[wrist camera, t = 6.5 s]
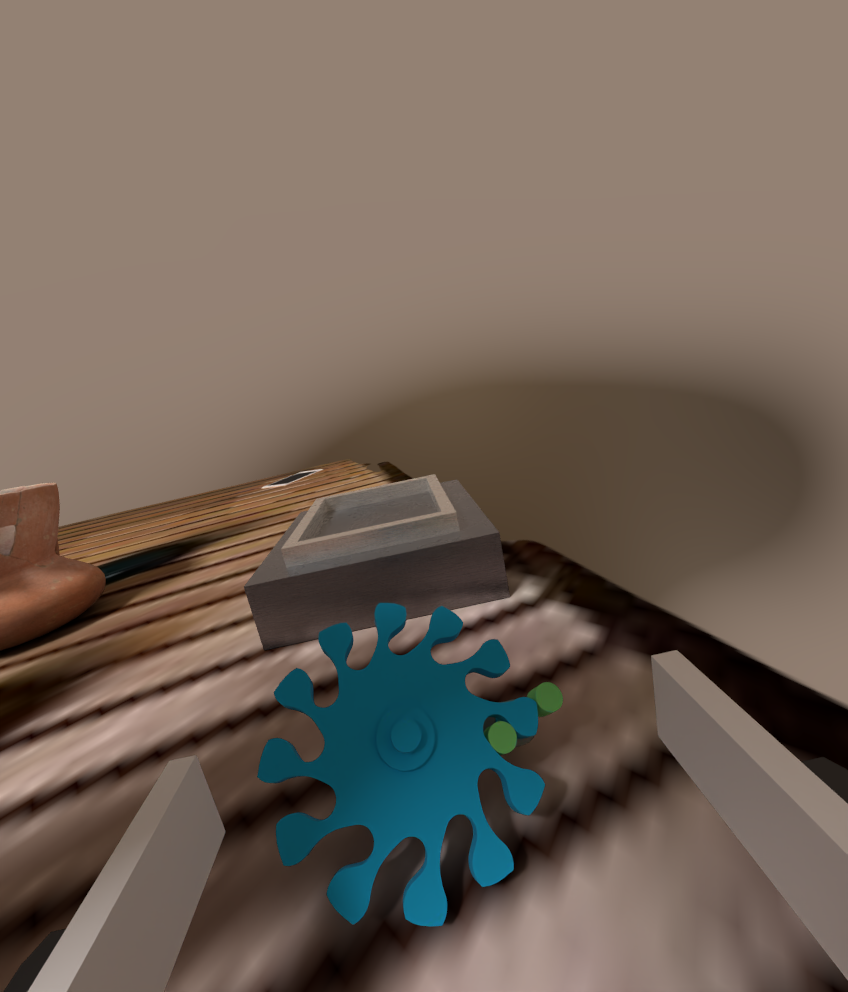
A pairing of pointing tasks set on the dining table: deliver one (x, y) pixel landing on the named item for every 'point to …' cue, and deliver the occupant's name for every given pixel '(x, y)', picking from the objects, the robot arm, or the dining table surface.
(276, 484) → the cell phone
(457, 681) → the gear
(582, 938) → the dining table surface
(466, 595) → the grey open tray
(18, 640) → the ceramic jug
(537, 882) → the dining table surface
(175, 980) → the dining table surface
